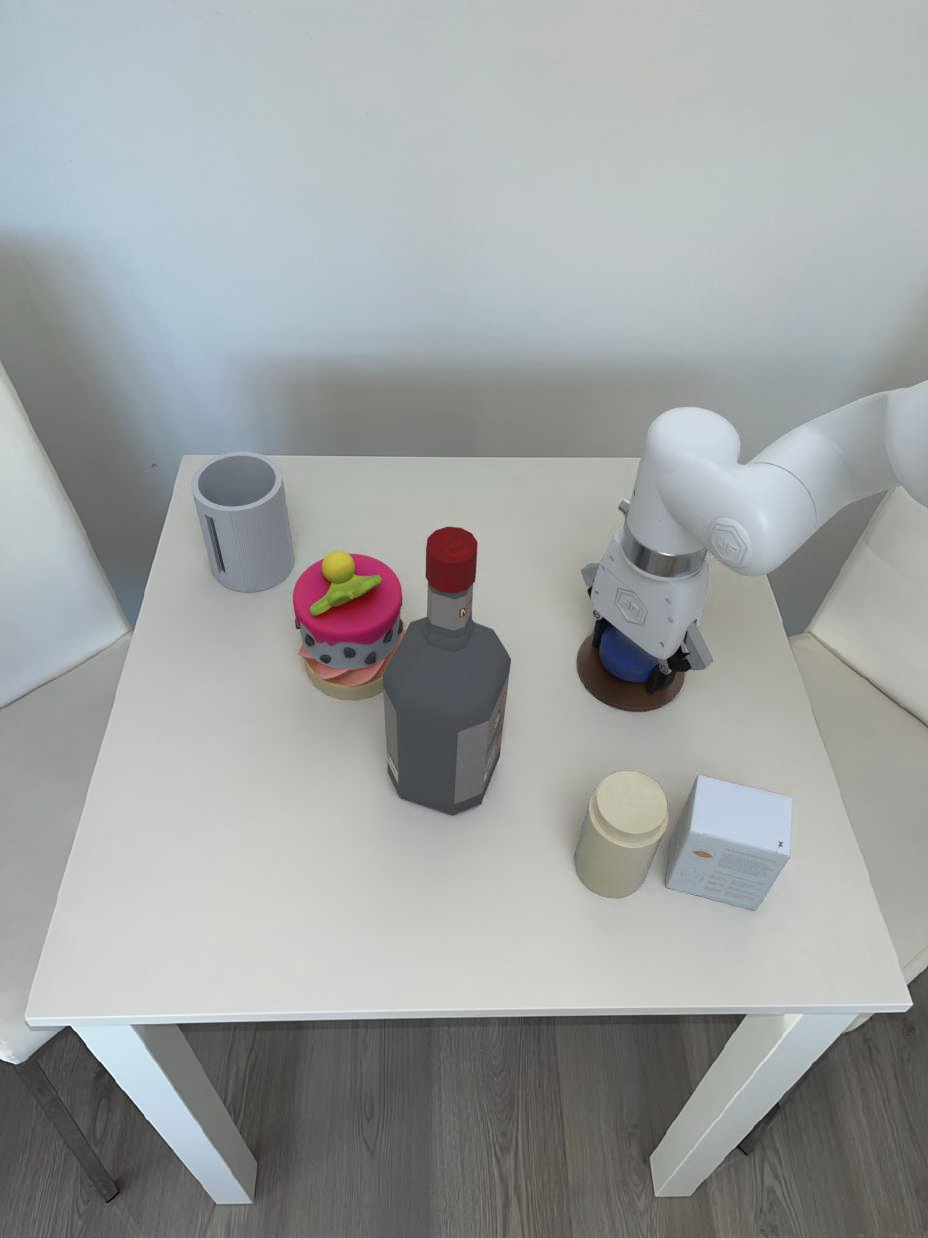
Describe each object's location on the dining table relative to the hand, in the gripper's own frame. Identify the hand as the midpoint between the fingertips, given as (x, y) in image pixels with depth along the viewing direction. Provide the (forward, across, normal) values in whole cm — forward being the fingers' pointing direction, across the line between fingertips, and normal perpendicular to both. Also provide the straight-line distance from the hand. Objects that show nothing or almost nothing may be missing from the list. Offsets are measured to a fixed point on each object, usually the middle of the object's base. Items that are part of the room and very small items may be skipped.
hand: (630, 662), depth 96 cm
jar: (+1, +14, -18) cm, 22 cm away
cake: (+1, -19, -21) cm, 28 cm away
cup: (+1, -37, -22) cm, 43 cm away
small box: (+1, +20, -11) cm, 23 cm away
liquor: (+1, -3, -23) cm, 23 cm away
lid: (-3, 0, 0) cm, 3 cm away
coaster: (+1, 0, 0) cm, 1 cm away
